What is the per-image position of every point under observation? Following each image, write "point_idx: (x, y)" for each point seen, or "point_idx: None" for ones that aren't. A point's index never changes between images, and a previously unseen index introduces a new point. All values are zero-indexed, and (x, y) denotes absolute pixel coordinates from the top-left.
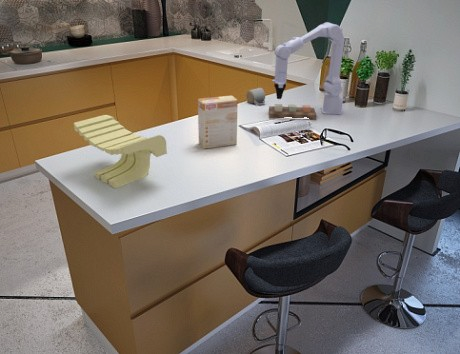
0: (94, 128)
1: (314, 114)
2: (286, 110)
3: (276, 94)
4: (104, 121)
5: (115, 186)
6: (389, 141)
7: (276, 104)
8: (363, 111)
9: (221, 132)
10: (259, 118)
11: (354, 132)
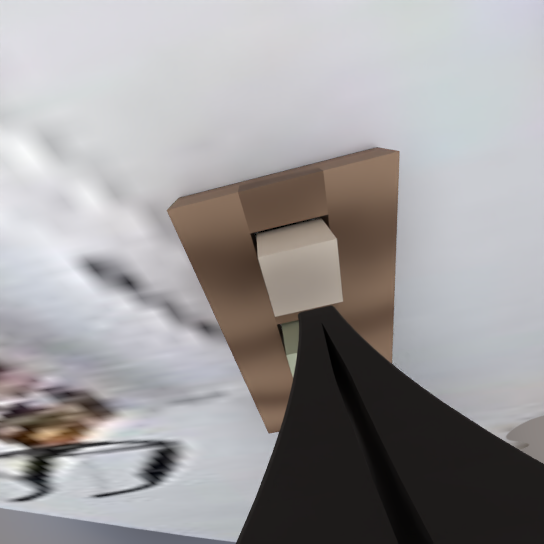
0: None
1: (276, 426)
2: (303, 311)
3: (300, 354)
4: None
5: None
6: (163, 530)
7: (324, 258)
8: None
9: None
10: (127, 107)
11: (187, 490)
